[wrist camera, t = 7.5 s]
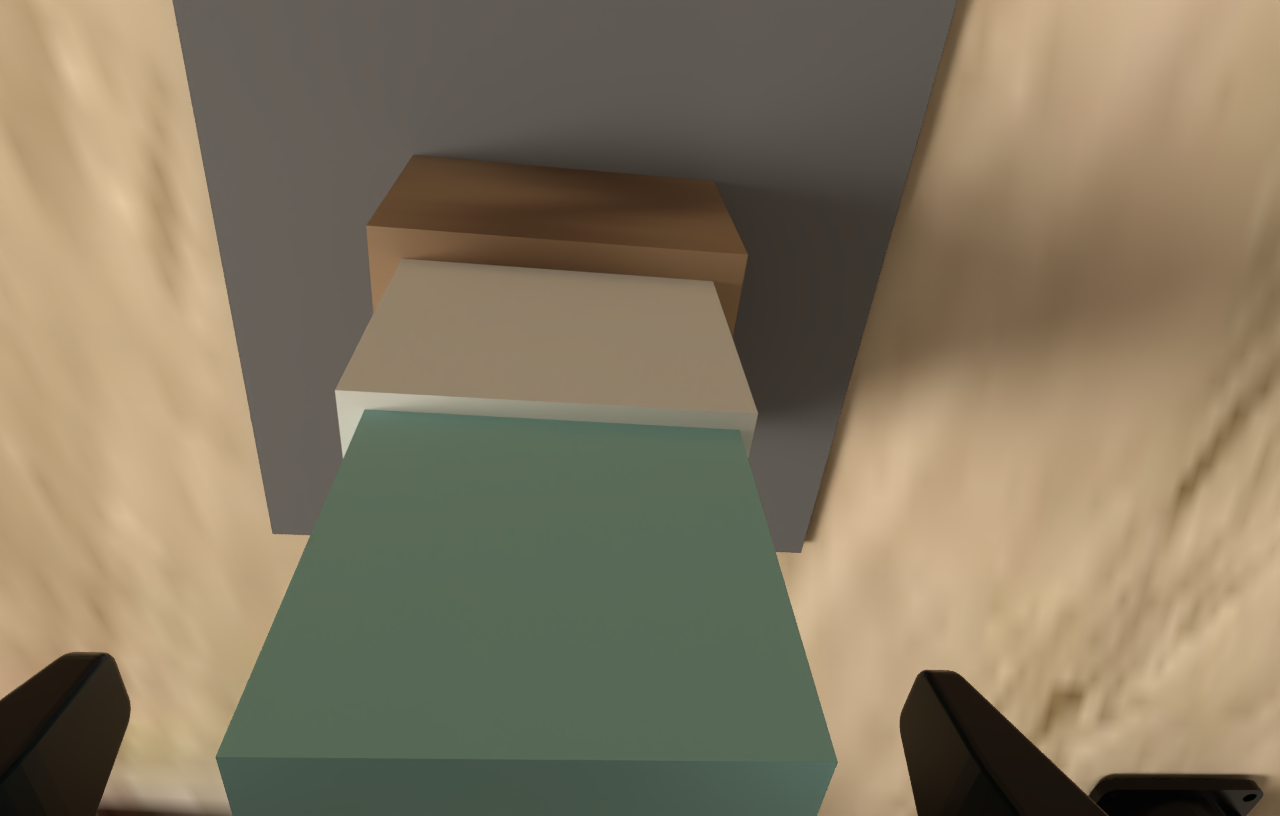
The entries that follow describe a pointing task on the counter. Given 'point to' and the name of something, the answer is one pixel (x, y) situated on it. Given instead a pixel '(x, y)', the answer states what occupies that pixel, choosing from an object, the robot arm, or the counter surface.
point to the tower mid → (547, 349)
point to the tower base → (556, 223)
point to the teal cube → (533, 634)
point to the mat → (563, 138)
